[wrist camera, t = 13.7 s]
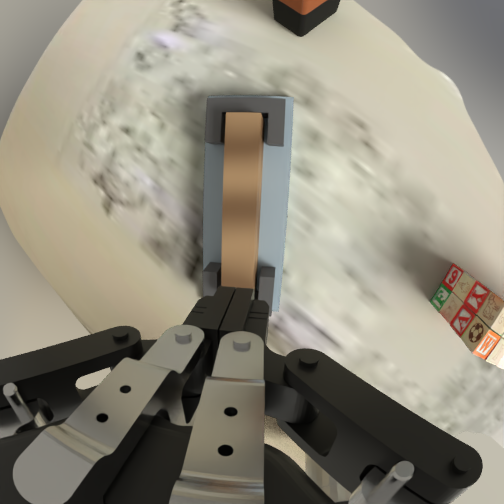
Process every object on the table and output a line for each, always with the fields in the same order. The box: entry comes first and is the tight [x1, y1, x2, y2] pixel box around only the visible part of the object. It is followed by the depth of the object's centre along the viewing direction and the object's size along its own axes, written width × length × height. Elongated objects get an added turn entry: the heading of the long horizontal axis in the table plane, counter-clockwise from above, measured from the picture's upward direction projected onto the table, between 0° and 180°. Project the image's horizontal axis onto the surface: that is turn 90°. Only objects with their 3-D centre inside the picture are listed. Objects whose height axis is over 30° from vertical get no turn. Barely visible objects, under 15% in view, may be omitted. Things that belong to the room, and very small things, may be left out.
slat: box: [221, 112, 265, 294], centre depth 27 cm, size 18×3×5 cm, turn 177°
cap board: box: [203, 95, 294, 316], centre depth 28 cm, size 24×9×4 cm, turn 177°
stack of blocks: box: [430, 264, 504, 370], centre depth 25 cm, size 21×6×12 cm, turn 65°
